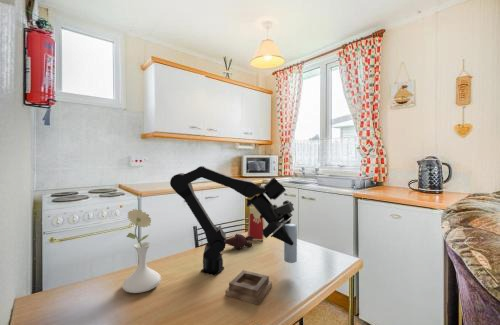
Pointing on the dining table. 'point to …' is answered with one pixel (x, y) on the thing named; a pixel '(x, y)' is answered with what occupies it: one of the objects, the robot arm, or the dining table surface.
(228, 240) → the dark red lobed figurine
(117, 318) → the dining table surface
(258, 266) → the dining table surface
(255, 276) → the socket base
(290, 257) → the blue-gray capsule
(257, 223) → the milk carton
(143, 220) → the flower in vase
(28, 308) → the dining table surface
